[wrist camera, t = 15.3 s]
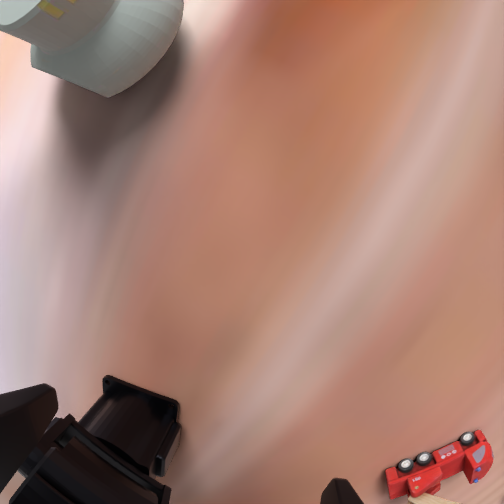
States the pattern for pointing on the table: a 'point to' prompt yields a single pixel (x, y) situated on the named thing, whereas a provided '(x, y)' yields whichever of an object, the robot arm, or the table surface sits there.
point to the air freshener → (94, 38)
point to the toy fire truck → (440, 469)
